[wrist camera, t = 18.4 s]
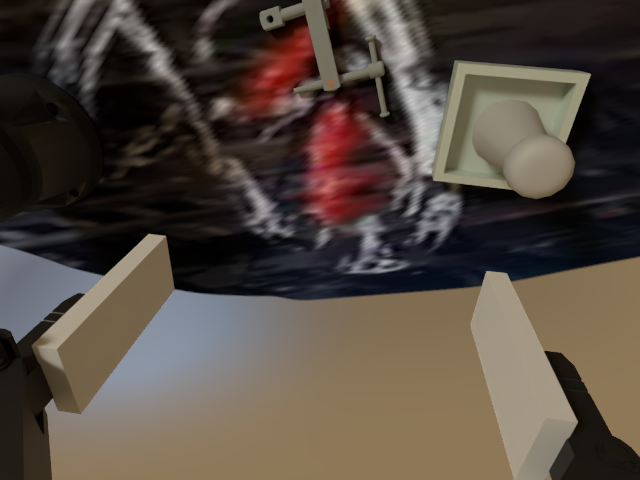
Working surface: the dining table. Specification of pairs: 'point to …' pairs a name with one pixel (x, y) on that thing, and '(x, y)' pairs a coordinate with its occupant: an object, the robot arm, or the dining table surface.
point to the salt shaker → (522, 149)
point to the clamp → (325, 48)
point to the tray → (490, 87)
